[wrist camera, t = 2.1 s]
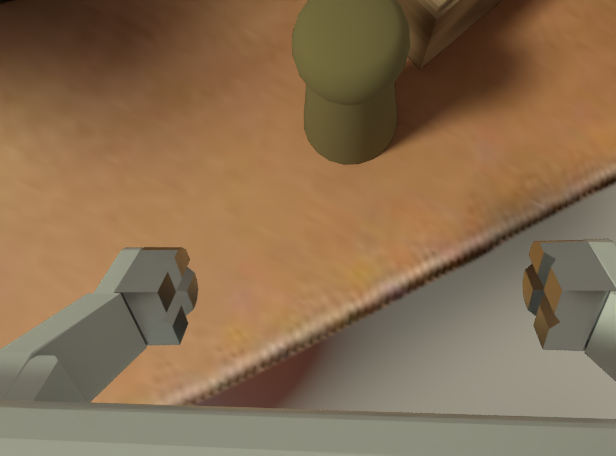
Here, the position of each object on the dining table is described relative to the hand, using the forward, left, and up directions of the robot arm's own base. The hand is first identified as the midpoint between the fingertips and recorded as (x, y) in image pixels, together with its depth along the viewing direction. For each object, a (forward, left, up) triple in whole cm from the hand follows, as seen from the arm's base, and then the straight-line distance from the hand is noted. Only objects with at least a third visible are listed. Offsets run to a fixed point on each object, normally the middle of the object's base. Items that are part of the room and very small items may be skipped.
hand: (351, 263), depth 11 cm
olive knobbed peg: (+7, +8, -18) cm, 20 cm away
